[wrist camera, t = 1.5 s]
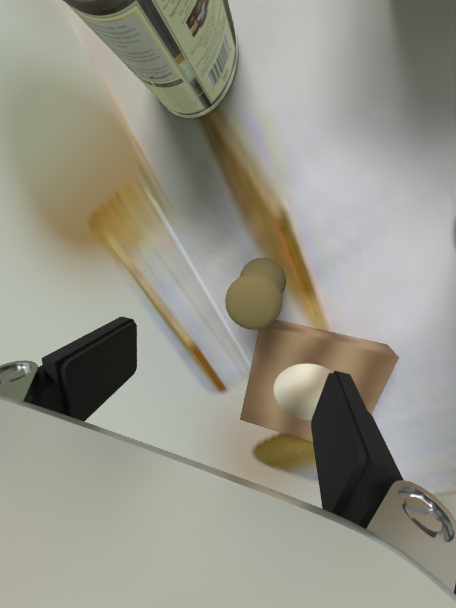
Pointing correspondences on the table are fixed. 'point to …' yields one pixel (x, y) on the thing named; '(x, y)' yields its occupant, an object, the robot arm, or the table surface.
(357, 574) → the robot arm
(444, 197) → the table surface
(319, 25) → the table surface
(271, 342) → the base
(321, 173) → the table surface
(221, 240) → the table surface
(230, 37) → the coffee can
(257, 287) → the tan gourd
